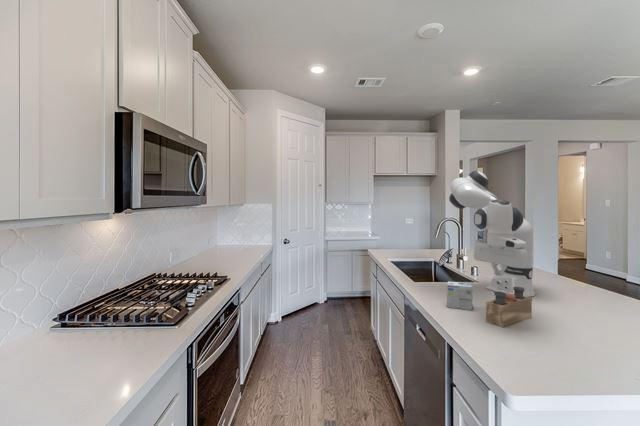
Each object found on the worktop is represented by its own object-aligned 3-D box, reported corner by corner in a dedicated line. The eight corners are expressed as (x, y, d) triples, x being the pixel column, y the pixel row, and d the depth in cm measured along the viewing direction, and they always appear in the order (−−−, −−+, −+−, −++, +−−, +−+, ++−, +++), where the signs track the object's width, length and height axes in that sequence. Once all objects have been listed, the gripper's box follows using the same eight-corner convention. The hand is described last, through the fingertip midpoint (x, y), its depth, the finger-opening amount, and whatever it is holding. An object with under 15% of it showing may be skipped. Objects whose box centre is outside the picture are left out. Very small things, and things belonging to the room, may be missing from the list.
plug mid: (501, 313, 133) (502, 294, 132) (506, 311, 135) (507, 293, 134) (511, 316, 129) (512, 297, 129) (516, 314, 131) (517, 295, 131)
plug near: (491, 312, 129) (492, 292, 129) (497, 310, 131) (498, 291, 131) (501, 315, 126) (502, 295, 125) (507, 313, 128) (508, 293, 127)
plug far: (510, 306, 136) (511, 287, 136) (516, 304, 138) (516, 286, 138) (520, 308, 133) (521, 289, 133) (525, 307, 135) (526, 288, 135)
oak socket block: (485, 321, 130) (486, 302, 129) (514, 312, 141) (514, 293, 140) (503, 327, 124) (503, 307, 123) (531, 316, 135) (531, 298, 134)
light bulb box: (472, 306, 149) (472, 283, 148) (472, 310, 143) (472, 286, 142) (447, 303, 153) (447, 280, 153) (446, 307, 147) (446, 284, 147)
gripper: (470, 238, 135) (470, 271, 135) (521, 244, 117) (520, 281, 118) (479, 237, 138) (479, 269, 139) (530, 243, 120) (530, 279, 121)
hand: (498, 275), depth 128 cm, fingers closed
